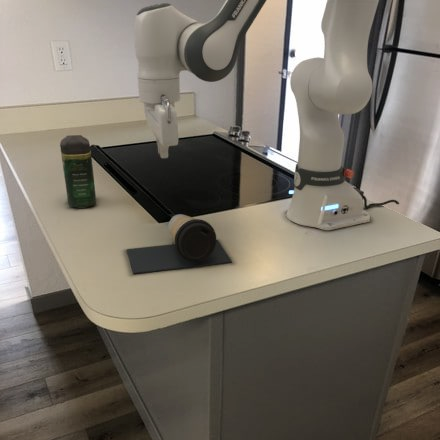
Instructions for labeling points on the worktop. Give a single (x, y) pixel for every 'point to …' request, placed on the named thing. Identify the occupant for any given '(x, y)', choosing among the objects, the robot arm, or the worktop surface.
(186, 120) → the worktop surface
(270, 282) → the worktop surface
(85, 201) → the coffee jar
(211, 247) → the coffee cup
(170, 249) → the mat
